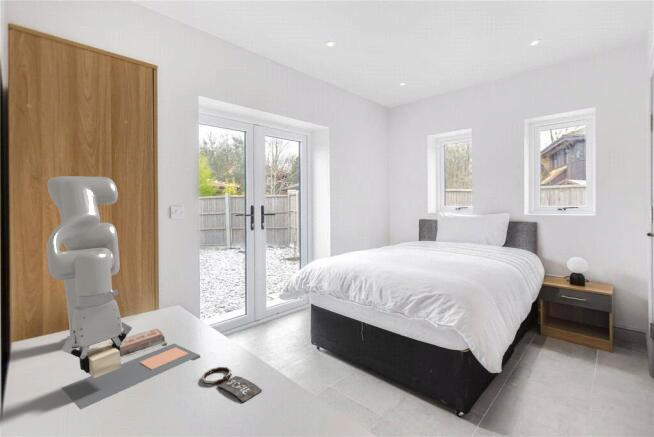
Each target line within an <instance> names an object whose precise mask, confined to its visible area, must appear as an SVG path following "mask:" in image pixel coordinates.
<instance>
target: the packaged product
mask: <svg viewBox="0 0 654 437" xmlns="http://www.w3.org/2000/svg"><path fill="white" fill-rule="evenodd" d="M165 338H166V337H165V335H164V333H163V332H162V331H161V330H160V329H158V328H155V329H151V330H147V331H143V332H140V333H136V334H133V335H131V336H126V337H125V339H124V340H123V341H122V344H121V345H120V353H121V356H120V359H121V360H122V359H124V358H127V357H131V356H133V355H135V354H136V355H137V354H139V353H142V352H145V351H147V350H151V349H154V348H157V347H162V346H163V347H166V346H168V343H167V342H166V340H165ZM107 343H108V344H110V345H111V346H112V343H113V342H112V341H109V342H107Z"/></svg>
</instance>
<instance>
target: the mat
mask: <svg viewBox="0 0 654 437" xmlns="http://www.w3.org/2000/svg"><path fill="white" fill-rule="evenodd" d="M199 358H201V354H199V353H196V352H194V351H192V350H190V349H187V348H185V347H183V346H182V345H181V346H180V345H178V344H176V343H171V344H170V345H165V346H163V347H162V348H159V349H157V350H154V351H151V352H148V353H146V354H144V355H141V356H138V357H135V358H134V359H130V360H128V361H126V362H123V363H121V368H119V369H116V370H114V371H111V372H109V373H106V374H104V375H101V376H99V377H97V378H93V377H92V376H91V375H90V376H88V377H85V378H83V379H80V380H78V381H75V382H72V383H69V384H67V385H65V386H62V387H61V389H62V390H63V391H64V393H65V394H66V395H67V396H68V397H69V398H70V399H71V400H72V401H73V403H74V404H75V405H76V406H77V407H78V408H79V409H80V410H83V409H85V408H87V407H89V406H92V405H94V404H97V403H98V402H100V401H103V400H105V399H107V398H109V397H111V396H113V395H116V394H118V393H119V392H122V391H125V390H127V389H129V388H132V387H133V386H136V385H138V384H140V383H142V382H144V381H146V380H149V379H151V378H153V377H156V376H158V375H159V374H163V373H164V372H167V371H169V370H171V369H173V368H175V367H178V366H180V365H182V364H184V363H186V362H188V361H190V360H191V361H195V360H197V359H199Z"/></svg>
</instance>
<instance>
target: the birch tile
mask: <svg viewBox="0 0 654 437" xmlns="http://www.w3.org/2000/svg"><path fill="white" fill-rule="evenodd" d="M108 343H109V342H105V343H102V344H98V345H96V346H93V347H89V349H88V352H87V356H88V358H89V368H90V372H89V373H88V374H89V375H90V376H92V377H93V378H97V377H99V376H101V375H104V374H106V373H109V372H111V371H114V370H116V369H119V368H121V364H122V358H121V359H120V351H119V350H117V349H116V348H114V347H112V346H111V345H110V344H108Z"/></svg>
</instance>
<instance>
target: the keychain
mask: <svg viewBox="0 0 654 437" xmlns="http://www.w3.org/2000/svg"><path fill="white" fill-rule="evenodd" d="M220 372H224V373H227V375H223V377H221V378H219V379H215V380H210V379H209V380H207V379H206V378H208V376H210V375H212V374H215V373H220ZM232 375H233V374H232V369H230V368H229V367H228V366H218V367H213V368H210V369H209V370H207V371H205V372H203V375H202V377H201V382H202V384H203V385H204V386H209V387H212V386H213V387H214V386H216V387H217V388H218V389H219V390H222V389H223V390H226V391H227V392H229V393H231V394H232V395H234V396H235V397H236V398H238V399H239V402H241V403H245V402H246V401H248V400H250V399H251V398H253V397H255V396H256V395H258V394H260V393H261V392H263V389H261V388H260V387H259V385H256V384H255V383H253V382H251V381H250V380H248V379H246V378H243V377H242V376H238V375H235V376H233V377H232Z"/></svg>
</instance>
